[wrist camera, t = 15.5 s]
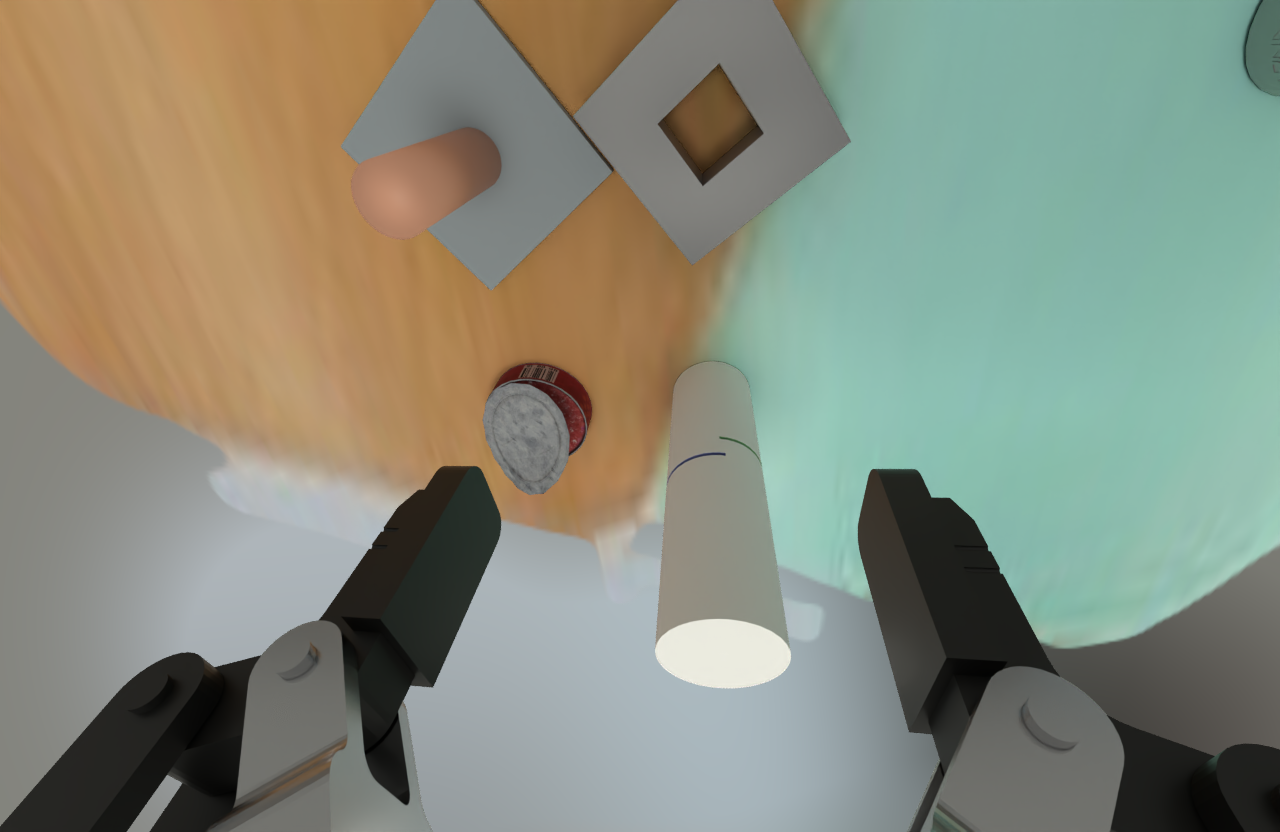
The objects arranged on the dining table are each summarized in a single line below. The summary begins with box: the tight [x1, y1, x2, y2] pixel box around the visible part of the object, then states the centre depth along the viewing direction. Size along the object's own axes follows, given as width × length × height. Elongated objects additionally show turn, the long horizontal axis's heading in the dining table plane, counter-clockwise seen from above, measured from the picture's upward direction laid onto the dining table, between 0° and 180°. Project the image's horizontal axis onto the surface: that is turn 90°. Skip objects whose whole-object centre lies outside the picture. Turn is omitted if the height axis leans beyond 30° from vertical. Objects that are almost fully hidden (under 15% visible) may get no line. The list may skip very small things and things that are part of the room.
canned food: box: [483, 363, 592, 495], centre depth 47 cm, size 11×10×10 cm
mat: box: [341, 0, 613, 290], centre depth 35 cm, size 14×14×1 cm
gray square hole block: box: [573, 0, 851, 265], centre depth 31 cm, size 12×12×4 cm
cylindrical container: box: [655, 361, 791, 688], centre depth 36 cm, size 7×7×25 cm
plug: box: [351, 127, 502, 240], centre depth 30 cm, size 4×4×12 cm
